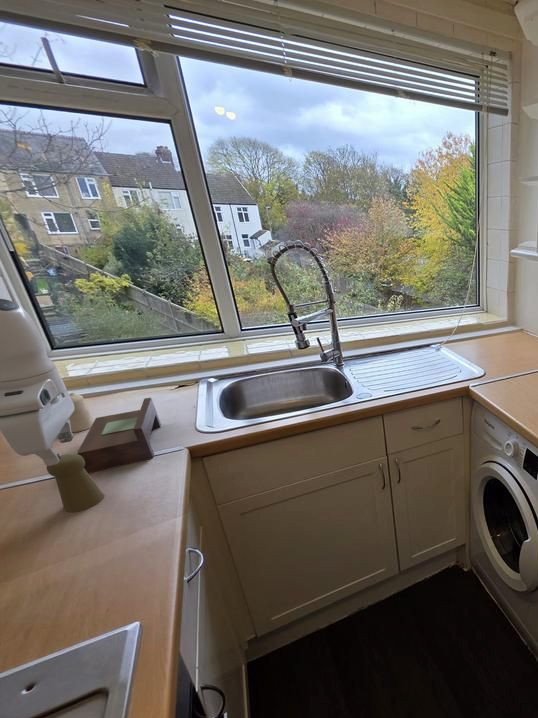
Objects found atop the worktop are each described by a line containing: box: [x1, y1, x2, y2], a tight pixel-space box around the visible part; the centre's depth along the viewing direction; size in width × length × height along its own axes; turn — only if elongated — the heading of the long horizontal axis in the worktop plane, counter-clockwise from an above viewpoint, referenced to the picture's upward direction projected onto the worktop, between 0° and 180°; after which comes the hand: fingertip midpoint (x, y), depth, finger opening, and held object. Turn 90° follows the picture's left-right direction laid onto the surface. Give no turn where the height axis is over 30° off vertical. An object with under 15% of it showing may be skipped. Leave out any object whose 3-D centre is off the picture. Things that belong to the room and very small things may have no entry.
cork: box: [46, 453, 105, 513], centre depth 82 cm, size 6×6×11 cm
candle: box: [68, 392, 95, 433], centre depth 110 cm, size 6×6×10 cm
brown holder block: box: [76, 397, 162, 474], centre depth 102 cm, size 12×20×8 cm, turn 34°
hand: (61, 451), depth 80 cm, fingers open, 8 cm apart
